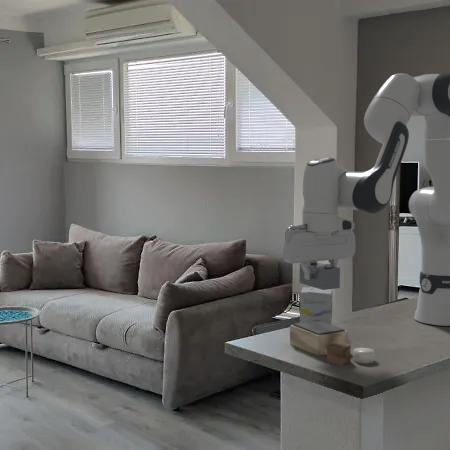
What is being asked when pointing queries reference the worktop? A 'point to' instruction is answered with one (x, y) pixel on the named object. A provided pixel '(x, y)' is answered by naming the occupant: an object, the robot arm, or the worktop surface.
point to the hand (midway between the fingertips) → (319, 278)
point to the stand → (316, 336)
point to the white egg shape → (363, 355)
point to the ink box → (316, 305)
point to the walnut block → (338, 353)
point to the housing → (322, 276)
